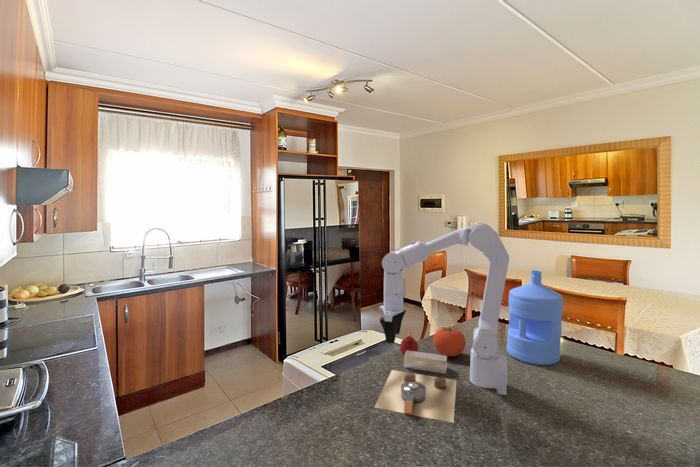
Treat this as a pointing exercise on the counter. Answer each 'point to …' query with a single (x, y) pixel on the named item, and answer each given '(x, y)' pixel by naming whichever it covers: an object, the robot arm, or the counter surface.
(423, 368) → the grey long rectangular block
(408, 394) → the grey lidded pan
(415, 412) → the wooden board
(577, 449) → the counter surface
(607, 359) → the counter surface
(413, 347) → the onion
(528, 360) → the water jug
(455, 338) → the tomato
